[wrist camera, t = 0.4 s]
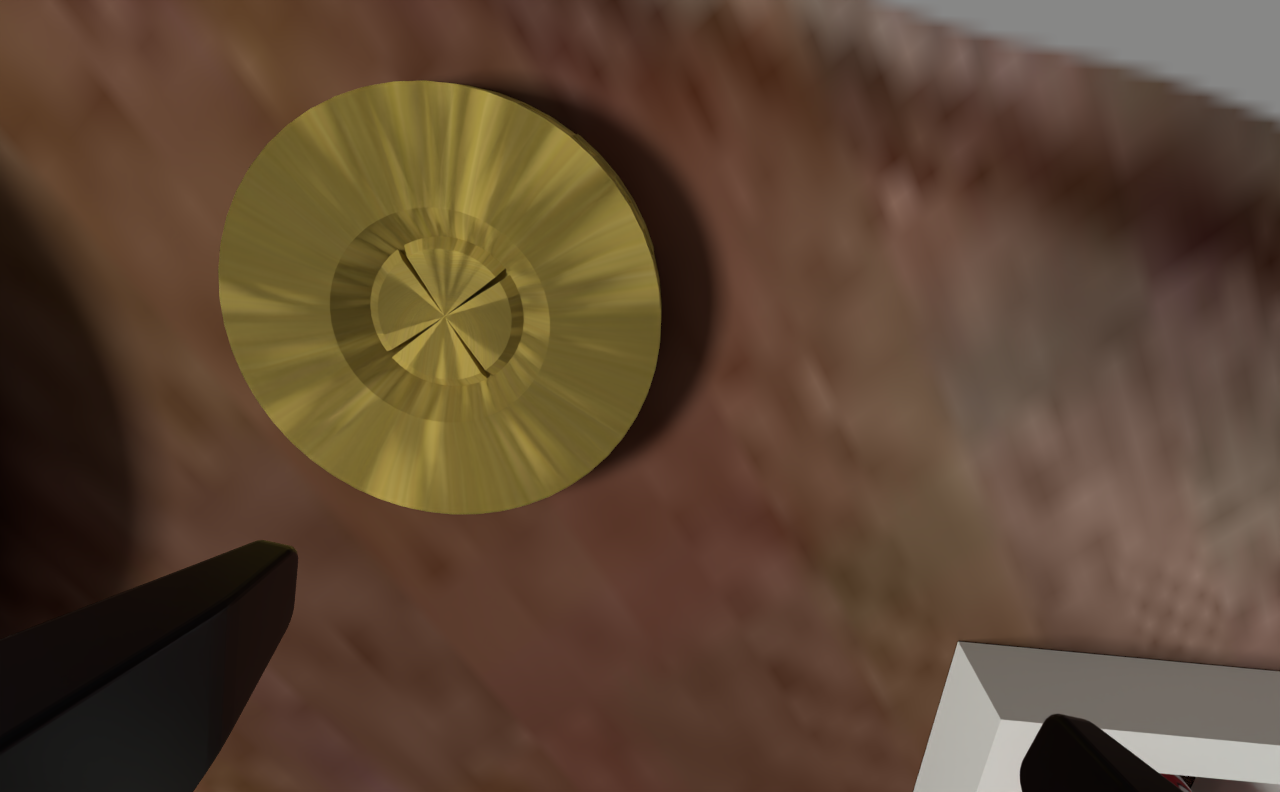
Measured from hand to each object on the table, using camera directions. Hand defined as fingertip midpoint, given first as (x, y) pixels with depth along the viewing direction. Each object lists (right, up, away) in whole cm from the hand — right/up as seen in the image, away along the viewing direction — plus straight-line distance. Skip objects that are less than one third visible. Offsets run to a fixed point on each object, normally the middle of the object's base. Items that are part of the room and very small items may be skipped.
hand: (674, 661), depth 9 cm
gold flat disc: (-6, +6, +14) cm, 16 cm away
